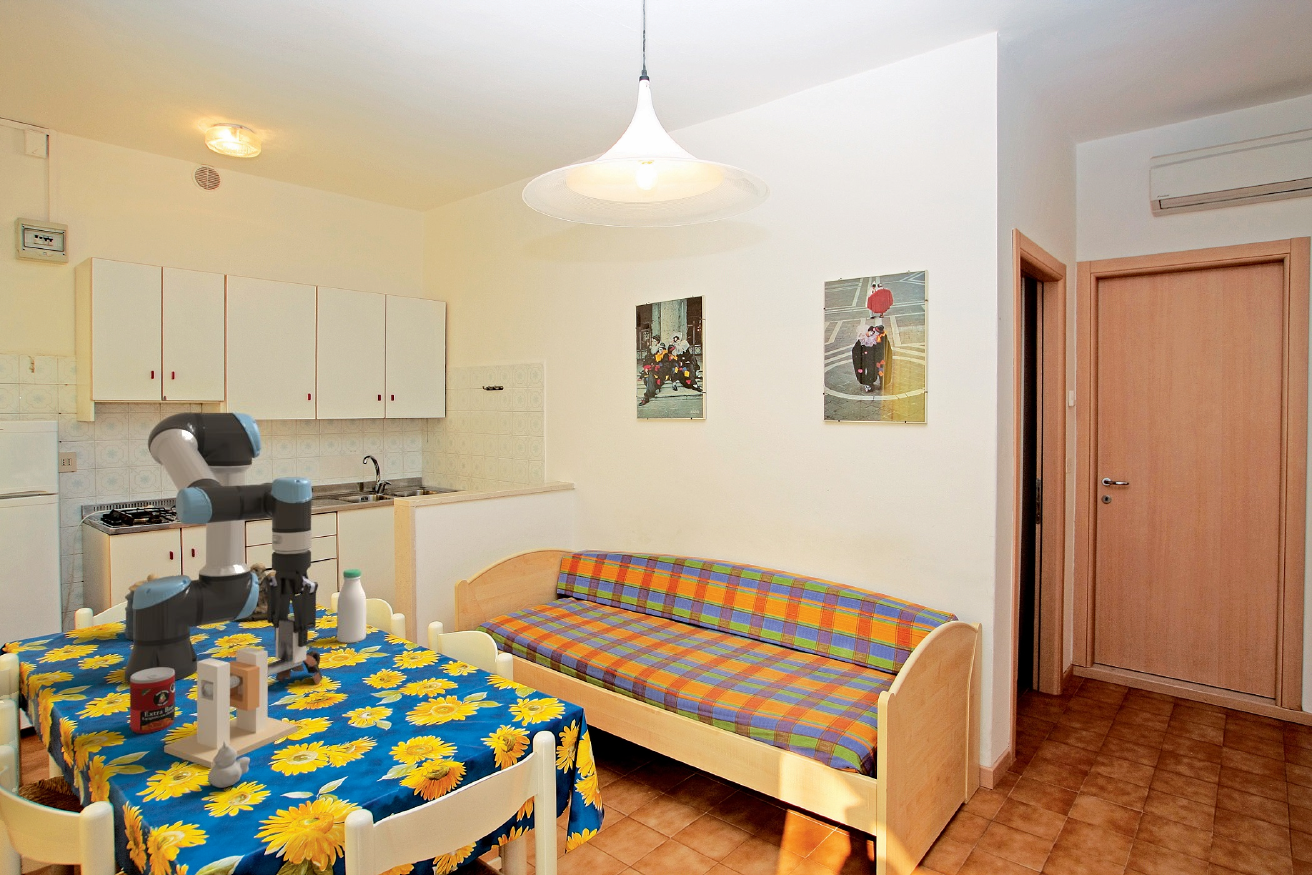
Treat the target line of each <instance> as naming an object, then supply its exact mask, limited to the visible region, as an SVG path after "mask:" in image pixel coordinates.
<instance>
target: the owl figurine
mask: <svg viewBox="0 0 1312 875" xmlns="http://www.w3.org/2000/svg"><path fill="white" fill-rule="evenodd" d="M249 567H250V569H251V571H250V572H252V573H254V574H256V576H257V578H258V585H259V595H258V601H257V605H256V607H255V609H254V611H253V612H252V613H251V615H249V616H248V617H246V618H241V619H237V620H234V621H233V622H234V623H235V622H236V623H248V622H249V623H251V622H252V621H253V622H260V621H261V622H263V621H267V585H266V581H265V580H266V578H267V577H272V576H275V573H276V571H274V570H273V571H271V572H269V573H268V574H267V573H266V570H267V569H266V566H265V565H264V564H263V563H258V562H256V563H253V564H252V565H251V566H249ZM290 613H291V610H290V608H289V612H288V615H289V614H290ZM273 617H274V615H273Z"/></svg>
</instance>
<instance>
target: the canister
mask: <svg viewBox="0 0 1312 875" xmlns="http://www.w3.org/2000/svg"><path fill="white" fill-rule="evenodd" d="M158 578H159V576H158V575H157V574H156V573H151V574H149V575H148V576H147V578H146V579H144V580H140V581H137V582H135V583H134V584H132V585H131V586H129V587H128V590H129V593H127V594H126V595H125V596H124V598H125V600H127V601H126V606H125V607H124V610H125V629H124V634H125V638H126V639H128V640H130V641H131V640H132V641H133V608H132V605H133V598H134V592H135V590H136V588H137V587H138V586H140V585H141V584H144V583H146V582H148V581H151V580H155V579H158Z"/></svg>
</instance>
